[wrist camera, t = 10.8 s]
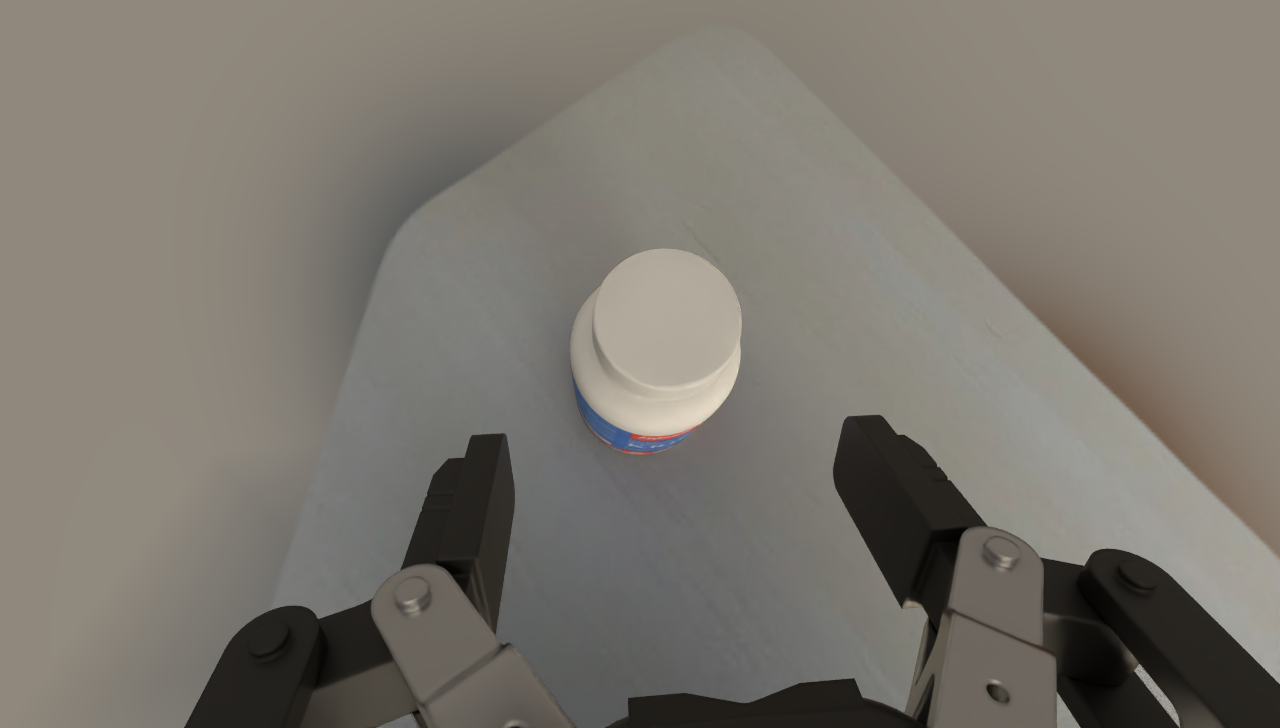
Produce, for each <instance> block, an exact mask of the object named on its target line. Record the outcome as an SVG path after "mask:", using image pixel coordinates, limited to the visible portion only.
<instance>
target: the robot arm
mask: <svg viewBox="0 0 1280 728" xmlns="http://www.w3.org/2000/svg"><path fill="white" fill-rule="evenodd" d="M833 477H834V483H835V487H836V490H837V492H838V494H839V496H840V497H841V499H842V501H843V503H844V505H845V507H846V508H847V510H848V512H849V514H850V516H851V517H852V519H853V521H854V523H855V525H856V527H857V528H858V530H859V532H860V534H861V536H862V537H863V539H864V541H865V543H866V545H867V547H868V548H869V550H870V552H871V554H872V556H873V557H874V559H875V561H876V563H877V565H878V567H879V568H880V570H881V572H882V574H883V576H884V577H885V579H886V581H887V583H888V585H889V586H890V588H891V590H892V592H893V594H894V596H895V597H896V599H897V601H898V603H899V605H900V606H901V608H902V609H903V608H916V607H923V608H924V610H925V611H926V613H927V615H928V618H927V620H926V622H925V625H924V629H923V634H922V638H921V643H920V648H919V652H918V657H917V662H916V666H915V671H914V676H913V680H912V685H911V689H910V694H909V698H908V702H907V705H906V709H905V712H904V713H903V712H901V711H899V710H897V709H895V708H893V707H890V706H888V705H886V704H883V703H880V702H877V701H874V700H870V699H866V698H862V696H861V693H860V691H859V688H858V686H857V684H856V681H855V679H854V678H853V679H841V680H830V681H818V682H807V683H799V684H796V685H794V686H791V687H789V688H786V689H784V690H781V691H779V692H776V693H774V694H771V695H769V696H766V697H764V698H761V699H759V700H756V701H754V702H750V703H737V702H732V701H726V700H721V699H715V698H710V697H704V696H698V695H693V694H687V693H680V694H668V695H657V696H645V697H634V698H628V715H629V716H628V717H626V718H623V719H621V720H618V721H616V722H614V723H612V724H611V725H609V726H607V727H605V728H1057V692H1058V694H1059V695H1060V697H1061V698H1062V700H1063V701H1064V703H1065V704H1066V706H1067V707H1068V709H1069V710H1070V712H1071V714H1072V715H1073V717H1074V718H1075V720H1076V721H1077V723H1078V724H1079V726H1080V727H1081V728H1179V727H1178V725H1177V724H1176V723H1175V722H1174V720H1173V719H1172V718H1171V717H1170V715H1169V714H1168V713H1167V712H1166V710H1165V709H1164V708H1163V707H1162V705H1161V704H1160V703H1159V702H1158V700H1157V699H1156V698H1155V697H1154V695H1153V694H1152V693H1151V692H1150V690H1149V689H1148V688H1147V687H1146V685H1145V684H1144V683H1143V682H1142V680H1141V679H1140V678H1139V677H1138V675H1137V674H1136V673H1135V672H1134V670H1135V669H1136V667H1137V666H1138V665H1139V663H1140V665H1141V666H1142V667H1143V668H1144V669H1145V671H1146V672H1147V673H1148V674H1149V676H1150V677H1151V678H1152V679H1153V680H1154V682H1155V683H1156V684H1157V685H1158V687H1159V688H1160V689H1161V690H1162V691H1163V693H1164V694H1165V695H1166V696H1167V698H1168V699H1169V700H1170V702H1171V703H1172V704H1173V706H1174V708H1175V710H1176V712H1177V714H1178V717H1179V721H1180V728H1280V684H1279V683H1278V682H1277V681H1276V680H1275V679H1274V678H1273V677H1272V676H1271V675H1270V674H1269V673H1268V672H1267V671H1266V670H1265V669H1264V668H1263V667H1262V666H1261V665H1260V664H1259V663H1258V662H1257V661H1256V660H1255V659H1254V658H1253V657H1252V656H1251V655H1250V654H1249V653H1248V652H1247V651H1246V650H1245V649H1244V648H1243V647H1242V646H1241V645H1240V644H1239V643H1238V642H1237V641H1236V640H1235V639H1234V638H1233V637H1232V636H1231V635H1230V634H1229V633H1228V632H1227V631H1226V630H1225V629H1224V628H1223V627H1222V626H1221V625H1219V624H1218V623H1217V622H1216V621H1215V620H1214V619H1213V618H1212V617H1211V616H1210V615H1209V614H1208V613H1207V612H1206V611H1205V610H1204V609H1203V608H1202V607H1201V606H1200V605H1199V604H1198V603H1197V602H1196V601H1195V600H1194V599H1193V598H1192V597H1191V596H1190V595H1189V594H1188V593H1187V592H1186V591H1185V590H1184V589H1183V588H1182V587H1181V586H1180V585H1179V584H1178V583H1177V582H1176V581H1175V580H1174V579H1173V578H1172V577H1171V576H1170V575H1169V574H1168V573H1167V572H1165V571H1164V570H1163V569H1161V568H1160V567H1158V566H1157V565H1155V564H1154V563H1152V562H1150V561H1148V560H1146V559H1144V558H1142V557H1140V556H1138V555H1135V554H1132V553H1129V552H1126V551H1122V550H1117V549H1100V550H1097V551H1095V552H1094V553H1092V555H1091V556H1090V557H1089V559H1088V561H1087V562H1086V564H1085V566H1082V565H1077V564H1071V563H1066V562H1061V561H1055V560H1050V559H1045V558H1040V557H1039V555H1038V554H1037V553H1036V552H1035V550H1034V549H1033V548H1032V547H1031V546H1030V545H1028V544H1027V543H1026V542H1025V541H1023V540H1022V539H1020V538H1019V537H1017V536H1015V535H1013V534H1011V533H1009V532H1007V531H1004V530H1001V529H998V528H994V527H988V526H987V525H986V523H985V522H984V521H983V520H982V519H981V517H980V516H979V515H978V514H977V512H976V511H975V510H974V509H973V508H972V506H971V505H970V504H969V503H968V501H967V500H966V499H965V498H964V497H963V495H962V494H961V493H960V492H959V490H958V489H957V488H956V487H955V486H954V484H953V483H952V482H951V481H950V480H948V479H947V476H946V475H945V473H944V472H943V471H942V470H941V468H940V467H937V464H936V462H935V461H934V460H933V459H932V457H931V456H930V455H929V454H928V453H927V451H926V450H925V449H924V448H923V447H922V446H920V445H919V444H917V443H916V442H914V441H913V440H911V439H910V438H908V437H907V436H905V435H897V434H896V433H895V431H894V430H893V429H892V428H891V426H890V425H889V424H888V422H887V421H886V420H885V419H884V418H883V417H882V416H881V415H866V416H849V417H847V418H846V419H845V420H844V423H843V427H842V431H841V435H840V440H839V444H838V448H837V453H836V457H835V462H834V467H833ZM514 506H515V490H514V480H513V474H512V467H511V461H510V454H509V448H508V442H507V437H506V434H505V433H502V434H482V435H472V436H471V438H470V441H469V444H468V448H467V451H466V455H465V458H451V459H448V460H447V461H446V462H445V463H444V464H443V465H442V466H441V467H440V468H439V469H438V470H437V472H436V473H435V474H434V475H433V478H432V480H431V483H430V486H429V489H428V492H427V496H426V498H425V501H424V504H423V507H422V511H421V512H420V515H419V518H418V521H417V524H416V527H415V530H414V533H413V536H412V539H411V541H410V544H409V547H408V550H407V553H406V556H405V559H404V562H403V565H402V567H401V570H400V571H398V572H397V573H395V574H393V575H392V576H391V577H389V578H388V579H387V580H386V581H385V582H384V583H383V584H382V585H381V586H380V587H379V589H378V590H377V591H376V593H375V595H374V597H373V599H371V600H369V601H367V602H365V603H363V604H361V605H358V606H356V607H353V608H350V609H347V610H344V611H341V612H338V613H335V614H332V615H329V616H326V617H324V618H321V619H317V617H316V615H315V613H314V612H313V611H311V610H310V609H308V608H306V607H302V606H285V607H280V608H277V609H273V610H271V611H268V612H266V613H264V614H262V615H260V616H258V617H257V618H255V619H253V620H252V621H251V622H249V623H248V624H247V625H245V626H244V627H243V628H242V629H241V630H240V631H239V632H238V633H237V634H236V635H235V636H234V637H233V638H232V640H231V641H230V642H229V644H228V645H227V647H226V649H225V651H224V653H223V654H222V656H221V658H220V660H219V662H218V664H217V666H216V668H215V670H214V672H213V674H212V675H211V677H210V679H209V682H208V683H207V685H206V687H205V689H204V691H203V693H202V695H201V697H200V699H199V700H198V702H197V704H196V707H195V708H194V710H193V712H192V714H191V716H190V718H189V720H188V722H187V724H186V726H185V727H184V728H376V727H378V726H381V725H383V724H385V723H388V722H390V721H393V720H395V719H397V718H400V717H402V716H405V715H407V714H409V713H410V714H411V715H412V717H413V719H414V721H415V723H416V725H417V727H418V728H576V727H575V725H574V724H573V723H572V721H571V720H570V719H569V717H568V716H567V715H566V713H565V712H564V711H563V709H562V708H561V707H560V705H559V704H558V703H557V701H556V700H555V699H554V697H553V696H552V695H551V693H550V692H549V691H548V689H547V688H546V687H545V685H544V684H543V683H542V681H541V680H540V679H539V677H538V676H537V675H536V673H535V672H534V671H533V669H532V668H531V667H530V665H529V664H528V663H527V661H526V660H525V659H524V657H523V656H522V655H521V654H520V652H519V651H518V650H517V649H516V648H515V647H514V646H513V645H512V644H510V643H506V644H505V645H503V644H502V643H501V642H500V641H499V640H498V639H497V637H496V636H495V635H496V628H497V622H498V615H499V608H500V602H501V595H502V588H503V581H504V575H505V568H506V561H507V555H508V548H509V541H510V535H511V528H512V521H513V515H514Z"/></svg>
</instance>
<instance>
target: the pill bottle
mask: <svg viewBox="0 0 1280 728" xmlns="http://www.w3.org/2000/svg"><path fill="white" fill-rule="evenodd" d="M741 330H742V316H741V308H740V304H739V301H738V298H737V296H736V293H735V291H734V289H733V287H732V286H731V284H730V282H729V281H728V280H727V278H726V277H725V276H724V275H723V274H722V273H721V272H720V271H719V270H718V269H717V268H716V267H715V266H714V265H712V264H711V263H710V262H708V261H707V260H705V259H703V258H701V257H699V256H697V255H695V254H692V253H689V252H686V251H682V250H677V249H652V250H647V251H644V252H640V253H638V254H635V255H633V256H631V257H629V258H627V259H625V260H624V261H622V262H621V263H620V264H618V265H617V266H616V267H615V268H614V269H613V270H612V271H611V272H610V273H609V274H608V275H607V277H606V278H605V279H604V281H603V283H602V284H601V286H600V287H598V288H597V289H596V290H595V291H594V292H593V293H592V294H591V295H590V296H589V298H588V299H587V300H586V301H585V303H584V304H583V306H582V307H581V309H580V311H579V313H578V315H577V317H576V319H575V322H574V325H573V328H572V333H571V339H570V362H571V369H572V375H573V381H574V387H575V393H576V398H577V404H578V407H579V411H580V413H581V416H582V418H583V420H584V422H585V423H586V425H587V427H588V428H589V429H590V431H591V432H592V433H593V434H594V435H595V436H596V437H597V438H598V439H599V440H600V441H602V442H603V443H604V444H606V445H607V446H609V447H611V448H613V449H615V450H618V451H621V452H624V453H628V454H635V455H645V454H653V453H657V452H661V451H664V450H666V449H669V448H671V447H673V446H674V445H676V444H678V443H679V442H681V441H682V440H683V439H684V438H685V437H687V436H688V435H689V434H690V433H691V432H692V431H694V430H695V429H696V428H697V427H698V426H700V425H701V424H702V423H703V422H704V421H705V420H707V419H708V418H709V417H710V416H711V415H712V414H713V413H714V412H715V411H716V410H717V409H718V408H719V407H720V406H721V405H722V403H723V402H724V401H725V399H726V398H727V396H728V395H729V393H730V391H731V390H732V387H733V385H734V383H735V380H736V378H737V374H738V371H739V365H740V357H741V349H740V335H741Z"/></svg>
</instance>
